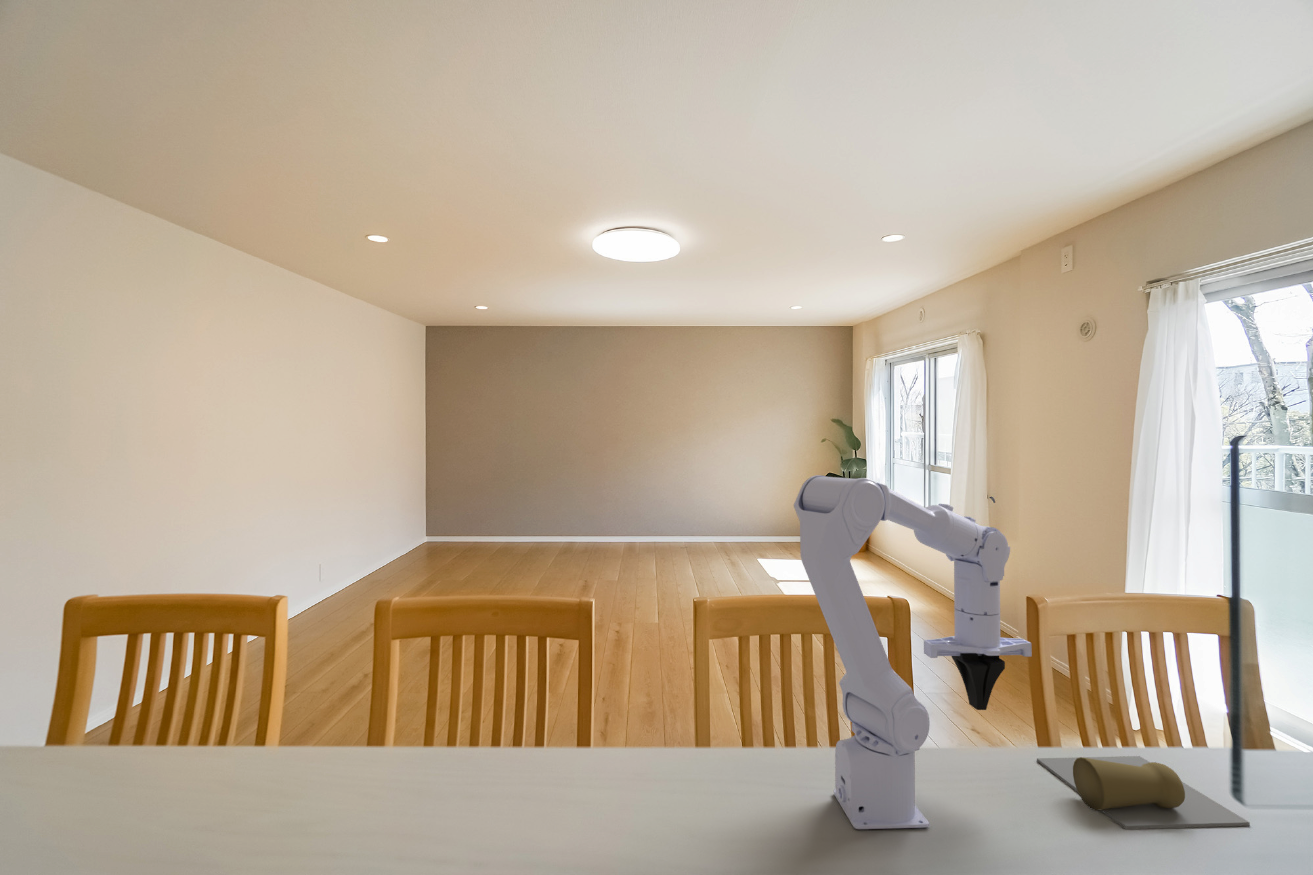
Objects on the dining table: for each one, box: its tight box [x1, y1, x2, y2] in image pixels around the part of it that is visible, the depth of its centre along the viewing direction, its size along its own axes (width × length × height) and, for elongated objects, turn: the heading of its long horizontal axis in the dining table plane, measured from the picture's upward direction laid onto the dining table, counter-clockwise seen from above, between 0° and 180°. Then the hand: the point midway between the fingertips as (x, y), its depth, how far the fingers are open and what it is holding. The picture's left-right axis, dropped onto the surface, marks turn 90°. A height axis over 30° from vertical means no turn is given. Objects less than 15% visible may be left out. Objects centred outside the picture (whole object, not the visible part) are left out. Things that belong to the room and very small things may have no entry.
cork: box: [1073, 756, 1185, 811], centre depth 78 cm, size 6×6×11 cm
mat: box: [1036, 755, 1251, 830], centre depth 82 cm, size 16×16×1 cm
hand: (977, 706), depth 84 cm, fingers closed
